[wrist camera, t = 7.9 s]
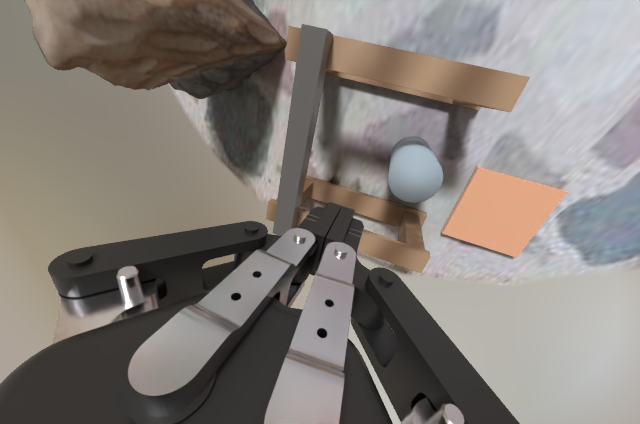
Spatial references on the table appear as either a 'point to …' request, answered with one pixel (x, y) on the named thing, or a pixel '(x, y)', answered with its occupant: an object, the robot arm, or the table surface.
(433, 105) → the table surface
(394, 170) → the grey-blue cylinder
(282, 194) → the bar
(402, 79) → the gantry
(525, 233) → the terracotta tile
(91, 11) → the brown pointed rock
